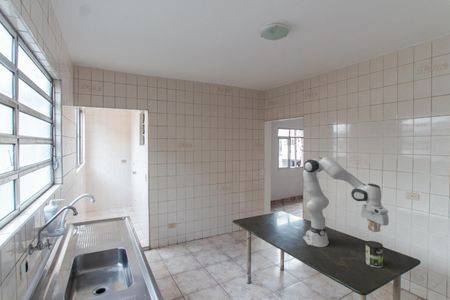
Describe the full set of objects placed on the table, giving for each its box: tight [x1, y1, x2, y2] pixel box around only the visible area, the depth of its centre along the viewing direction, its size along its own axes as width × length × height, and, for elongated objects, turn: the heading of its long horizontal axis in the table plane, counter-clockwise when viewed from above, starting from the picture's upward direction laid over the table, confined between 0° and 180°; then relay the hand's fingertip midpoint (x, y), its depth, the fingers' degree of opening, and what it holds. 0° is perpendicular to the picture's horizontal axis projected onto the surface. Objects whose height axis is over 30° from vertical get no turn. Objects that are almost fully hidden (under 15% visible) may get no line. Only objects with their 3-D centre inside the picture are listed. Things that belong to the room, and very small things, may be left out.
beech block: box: [367, 221, 381, 233], centre depth 163 cm, size 5×5×6 cm
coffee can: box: [365, 240, 384, 268], centre depth 164 cm, size 10×10×14 cm
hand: (374, 227), depth 163 cm, fingers closed on beech block, 5 cm apart
